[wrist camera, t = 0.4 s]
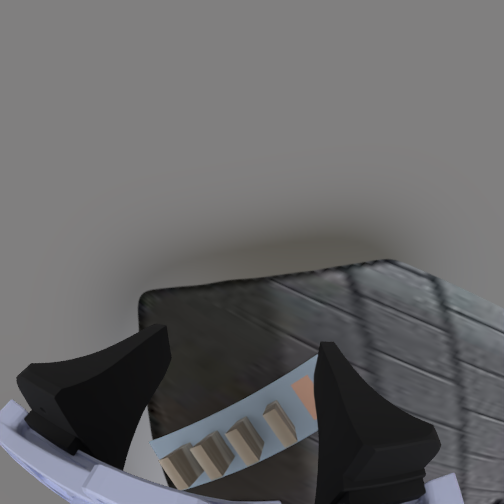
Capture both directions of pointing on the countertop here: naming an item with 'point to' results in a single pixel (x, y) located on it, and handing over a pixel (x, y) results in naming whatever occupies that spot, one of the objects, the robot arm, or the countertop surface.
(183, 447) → the domino
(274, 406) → the domino
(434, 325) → the countertop surface
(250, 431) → the domino
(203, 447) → the domino
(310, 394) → the mat
